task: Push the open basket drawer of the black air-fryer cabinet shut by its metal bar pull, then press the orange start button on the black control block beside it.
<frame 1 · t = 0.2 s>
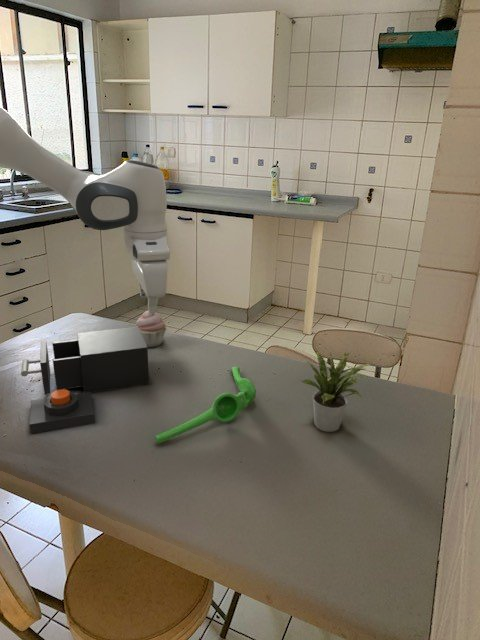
hand: (148, 304, 102), 20 cm above the table, tool pointing down, fingers open, 8 cm apart
lime squeezer: (221, 411, 100), on the table
basket drawer: (64, 364, 106), point 5 cm above the table, slide at 7.0 cm
cupcake: (151, 343, 130), on the table
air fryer: (114, 375, 112), on the table
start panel: (63, 416, 96), on the table
start button: (60, 397, 94), point 4 cm above the table, slide at 0.1 cm
house plant: (329, 429, 95), on the table
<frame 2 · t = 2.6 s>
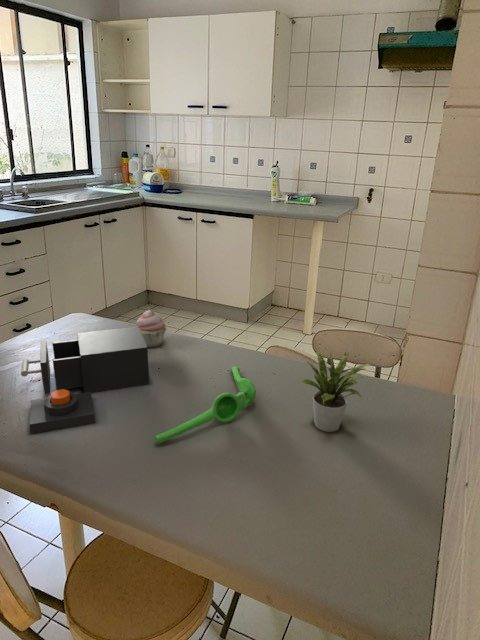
nothing on the table moved.
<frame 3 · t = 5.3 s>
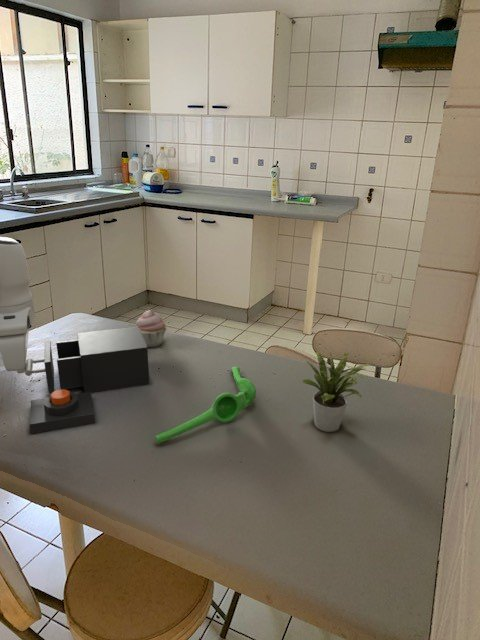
hand: (21, 369, 103), 5 cm above the table, tool pointing down, fingers closed, pressing on basket drawer
basket drawer: (68, 364, 107), point 5 cm above the table, slide at 6.2 cm, touching gripper
everything else where it was.
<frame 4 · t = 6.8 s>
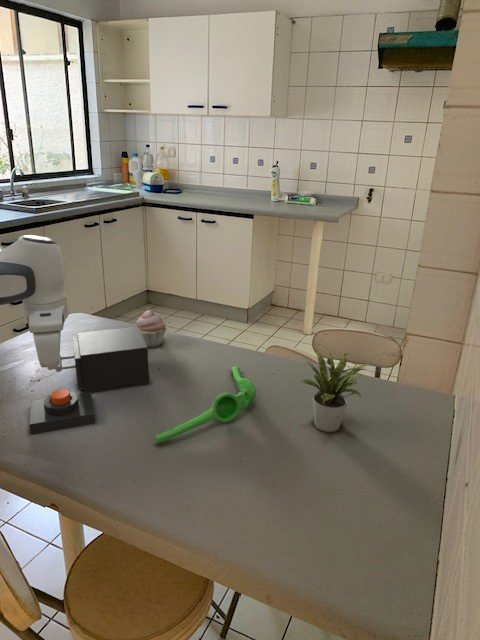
hand: (51, 366, 106), 5 cm above the table, tool pointing down, fingers closed, pressing on basket drawer
basket drawer: (95, 360, 109), point 5 cm above the table, slide at 0.0 cm, touching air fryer, gripper
everything else where it was.
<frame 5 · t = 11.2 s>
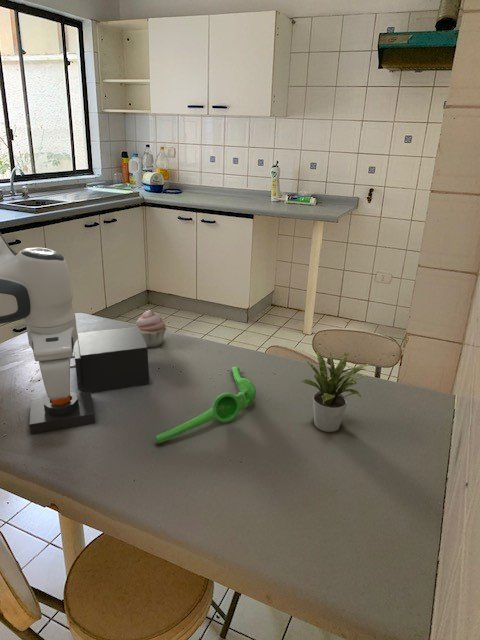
hand: (61, 394, 94), 5 cm above the table, tool pointing down, fingers closed, pressing on start button
basket drawer: (95, 360, 109), point 5 cm above the table, slide at 0.0 cm, touching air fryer
start button: (60, 398, 94), point 4 cm above the table, slide at -0.2 cm, touching gripper
everything else where it was.
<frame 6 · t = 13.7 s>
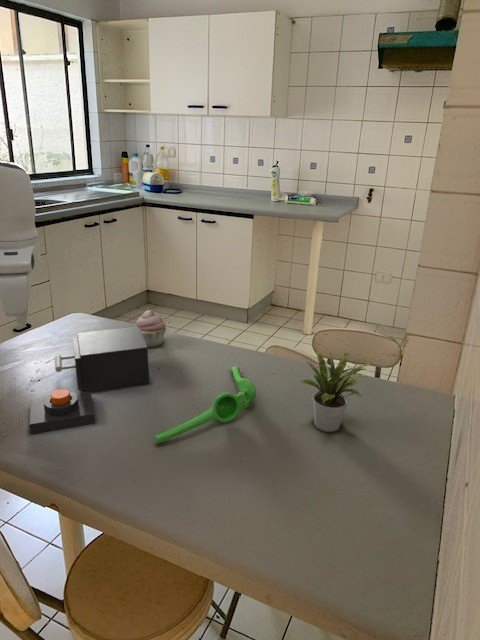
hand: (22, 321, 91), 20 cm above the table, tool pointing down, fingers closed
start button: (60, 397, 94), point 4 cm above the table, slide at 0.1 cm
everything else where it was.
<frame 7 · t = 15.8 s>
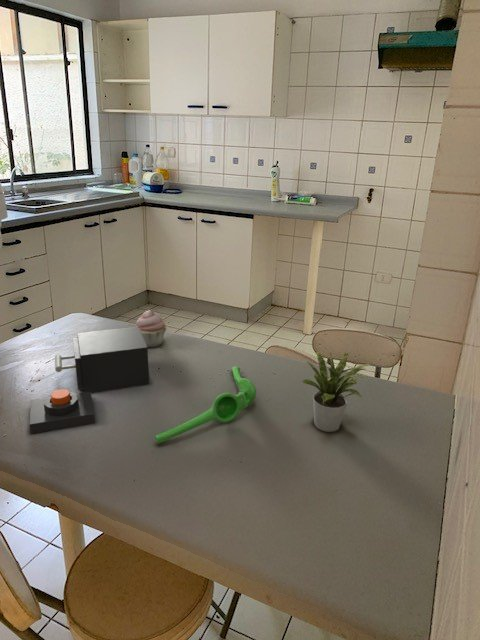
nothing on the table moved.
at the end: basket drawer slide at 0.0 cm; start button pushed in 1.0 cm at the most during the clip, back to where it started at the end; start button slide at 0.1 cm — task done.
